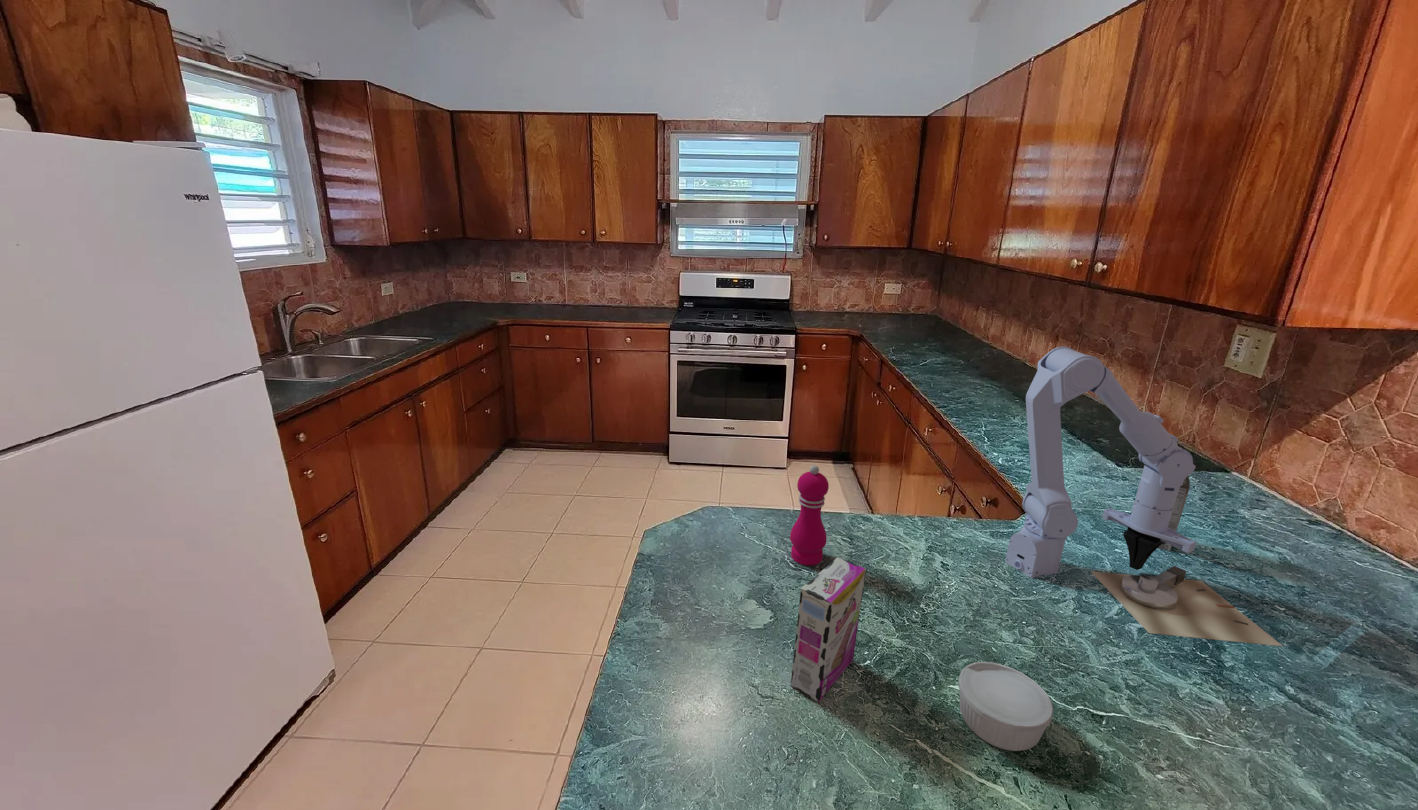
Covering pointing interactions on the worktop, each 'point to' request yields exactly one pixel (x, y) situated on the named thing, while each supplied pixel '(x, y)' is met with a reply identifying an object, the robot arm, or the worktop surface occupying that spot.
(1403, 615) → the worktop surface
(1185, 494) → the coffee box
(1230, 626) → the dial board
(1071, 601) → the worktop surface
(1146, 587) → the dial
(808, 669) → the candy bar box
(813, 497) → the pepper mill
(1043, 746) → the worktop surface
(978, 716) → the ramekin
